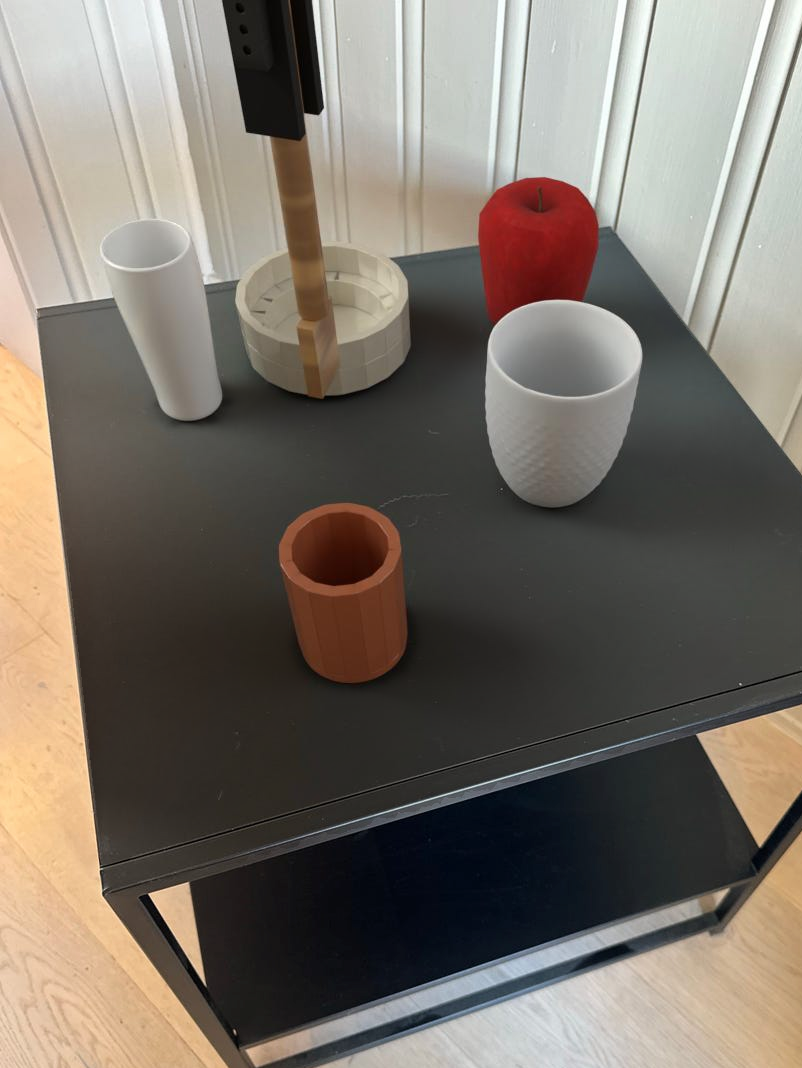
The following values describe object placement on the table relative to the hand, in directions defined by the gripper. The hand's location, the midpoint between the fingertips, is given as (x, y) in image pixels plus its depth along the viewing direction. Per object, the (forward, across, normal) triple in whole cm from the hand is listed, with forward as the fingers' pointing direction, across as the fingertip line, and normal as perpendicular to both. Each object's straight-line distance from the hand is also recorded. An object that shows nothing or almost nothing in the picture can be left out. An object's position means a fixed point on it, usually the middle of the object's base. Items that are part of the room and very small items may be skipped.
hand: (285, 119), depth 45 cm
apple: (+33, +31, -7) cm, 46 cm away
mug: (+33, +13, -12) cm, 37 cm away
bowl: (+33, +23, +10) cm, 41 cm away
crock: (+33, -7, -3) cm, 33 cm away
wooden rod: (+16, 0, 0) cm, 16 cm away
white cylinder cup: (+33, +13, +19) cm, 40 cm away
